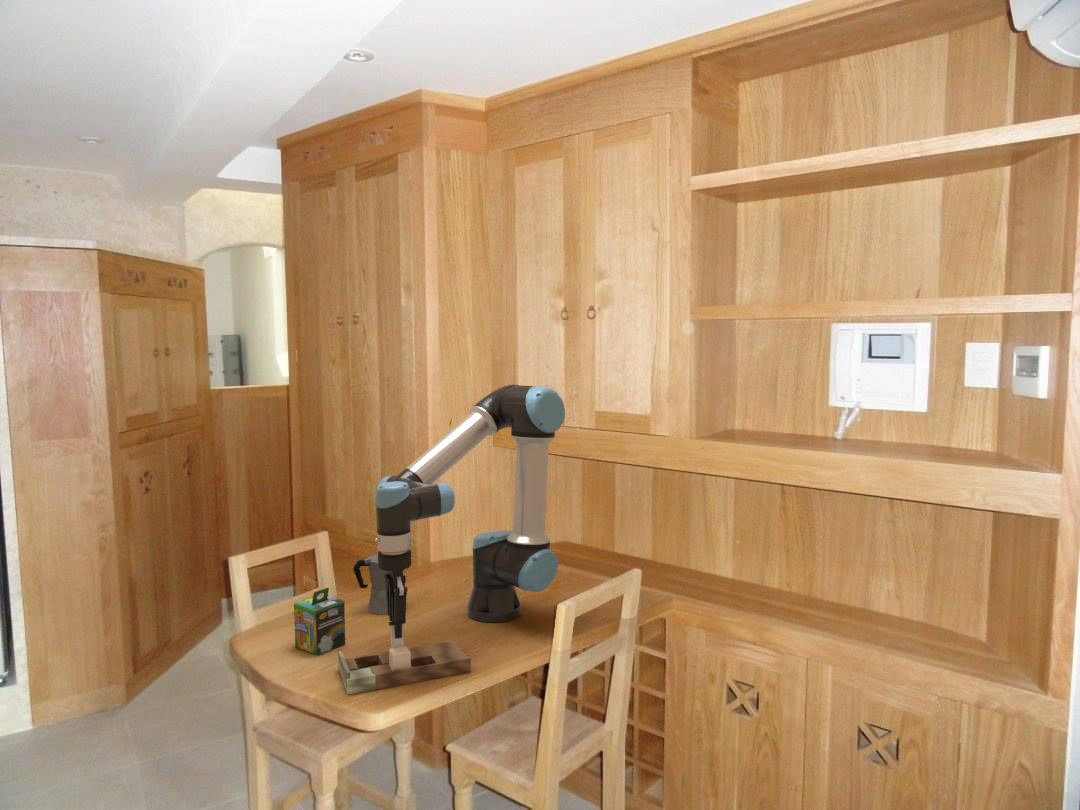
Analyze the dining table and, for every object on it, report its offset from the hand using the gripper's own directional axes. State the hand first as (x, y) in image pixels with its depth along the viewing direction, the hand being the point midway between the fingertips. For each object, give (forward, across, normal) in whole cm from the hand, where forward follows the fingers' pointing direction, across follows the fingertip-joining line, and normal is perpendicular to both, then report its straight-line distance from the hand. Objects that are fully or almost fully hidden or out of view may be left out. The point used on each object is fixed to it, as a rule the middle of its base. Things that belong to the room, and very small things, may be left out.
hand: (397, 649), depth 172 cm
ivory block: (+3, +3, 0) cm, 4 cm away
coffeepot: (+6, -42, +4) cm, 42 cm away
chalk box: (+6, -22, -14) cm, 27 cm away
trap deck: (+5, 0, +1) cm, 5 cm away
